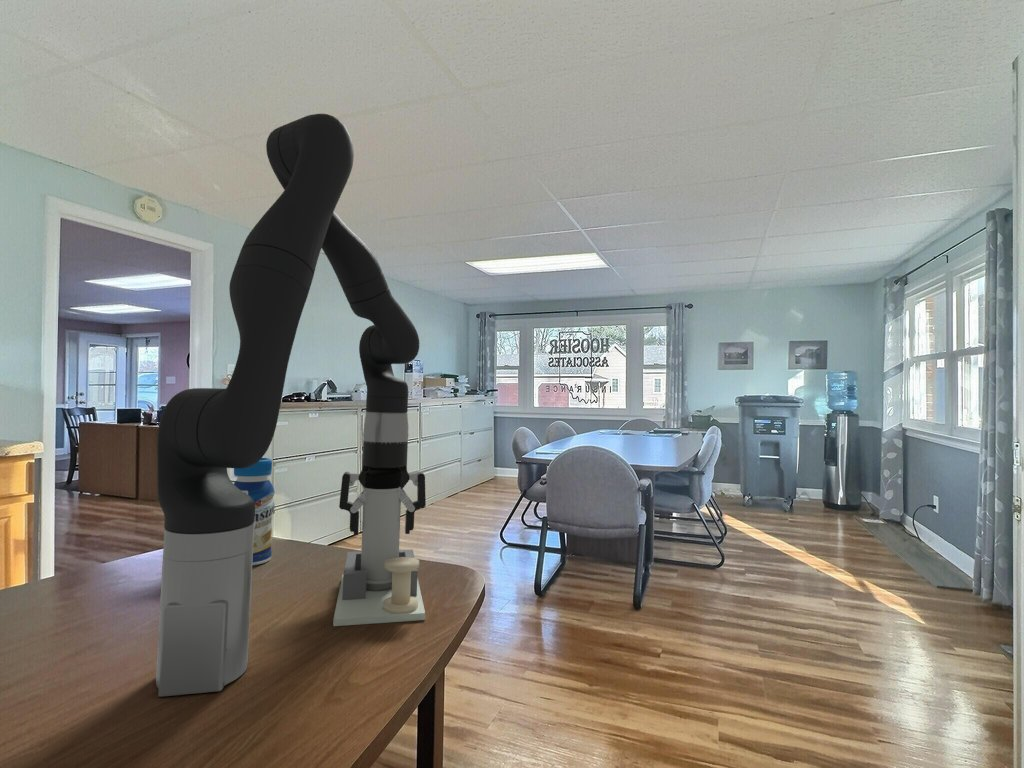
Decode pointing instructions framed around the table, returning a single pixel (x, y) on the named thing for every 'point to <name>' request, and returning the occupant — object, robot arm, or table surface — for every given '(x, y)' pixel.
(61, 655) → the table surface
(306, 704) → the table surface
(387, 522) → the travel mug
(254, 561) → the beverage bottle
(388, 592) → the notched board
